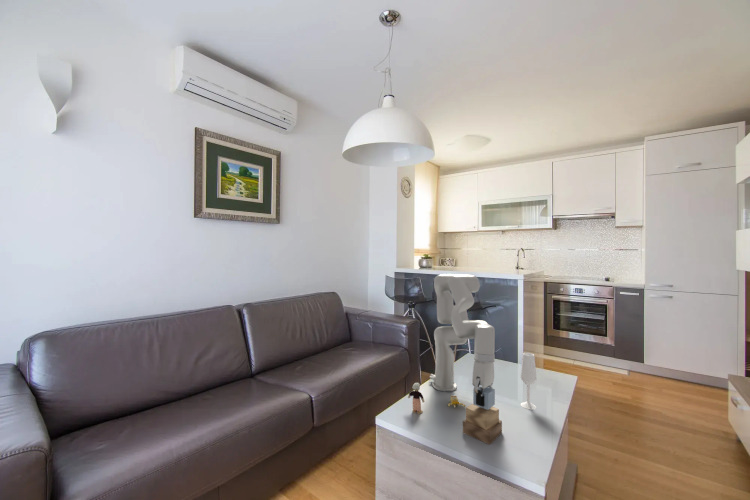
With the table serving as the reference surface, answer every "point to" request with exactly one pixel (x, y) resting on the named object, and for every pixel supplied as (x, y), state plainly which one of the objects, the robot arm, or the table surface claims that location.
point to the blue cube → (486, 397)
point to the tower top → (482, 416)
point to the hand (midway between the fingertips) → (483, 401)
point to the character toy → (455, 401)
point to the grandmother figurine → (416, 398)
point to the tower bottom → (482, 431)
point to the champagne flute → (528, 376)
